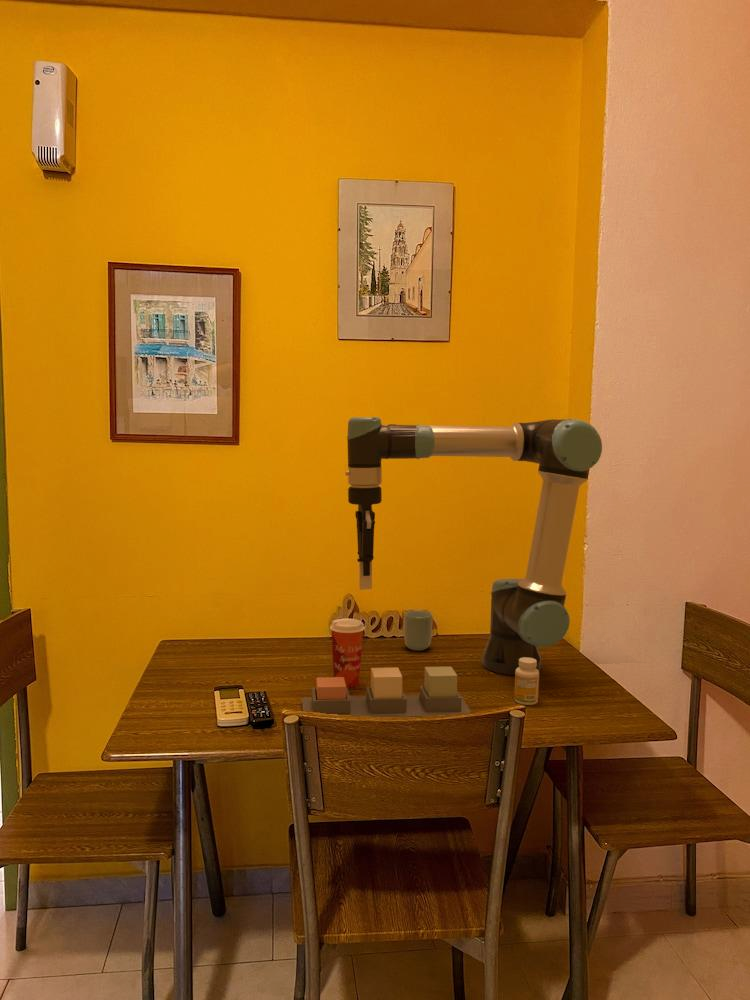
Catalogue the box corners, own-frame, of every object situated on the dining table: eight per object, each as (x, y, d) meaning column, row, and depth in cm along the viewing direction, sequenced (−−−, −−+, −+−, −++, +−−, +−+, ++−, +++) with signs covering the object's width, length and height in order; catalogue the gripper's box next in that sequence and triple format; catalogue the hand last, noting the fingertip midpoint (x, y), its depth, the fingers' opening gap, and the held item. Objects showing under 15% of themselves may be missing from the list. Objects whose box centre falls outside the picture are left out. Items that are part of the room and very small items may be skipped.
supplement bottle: (521, 694, 174) (522, 654, 173) (542, 700, 171) (544, 659, 170) (509, 701, 170) (511, 660, 169) (531, 707, 167) (533, 665, 166)
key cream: (397, 689, 165) (398, 667, 165) (401, 699, 159) (402, 676, 159) (370, 689, 165) (371, 667, 164) (373, 700, 159) (374, 677, 158)
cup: (400, 651, 205) (401, 615, 204) (407, 643, 212) (408, 609, 211) (428, 654, 203) (429, 618, 202) (434, 646, 210) (435, 611, 209)
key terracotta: (343, 699, 164) (343, 677, 164) (345, 709, 158) (346, 686, 158) (316, 699, 163) (316, 677, 163) (317, 710, 157) (317, 687, 157)
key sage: (450, 688, 167) (451, 666, 166) (456, 698, 161) (457, 675, 160) (424, 688, 166) (424, 666, 166) (429, 698, 160) (429, 676, 160)
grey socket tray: (459, 699, 170) (460, 681, 170) (472, 720, 159) (473, 701, 158) (302, 702, 166) (302, 684, 166) (303, 724, 154) (303, 705, 154)
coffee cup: (333, 690, 174) (334, 627, 173) (326, 678, 182) (327, 618, 181) (367, 687, 176) (369, 626, 175) (359, 676, 184) (360, 616, 183)
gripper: (344, 483, 173) (346, 583, 176) (351, 489, 160) (352, 596, 163) (376, 483, 174) (377, 581, 177) (386, 488, 162) (386, 594, 164)
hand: (365, 588), depth 170 cm, fingers closed
